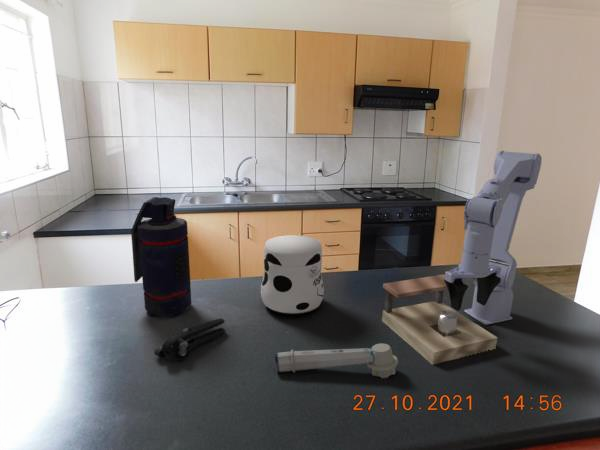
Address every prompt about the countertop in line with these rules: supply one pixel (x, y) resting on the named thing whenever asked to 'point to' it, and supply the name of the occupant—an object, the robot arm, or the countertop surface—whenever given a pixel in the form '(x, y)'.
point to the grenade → (162, 258)
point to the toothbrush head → (340, 359)
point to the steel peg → (447, 323)
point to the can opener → (180, 348)
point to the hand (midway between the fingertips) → (468, 306)
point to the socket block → (432, 322)
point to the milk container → (292, 274)
